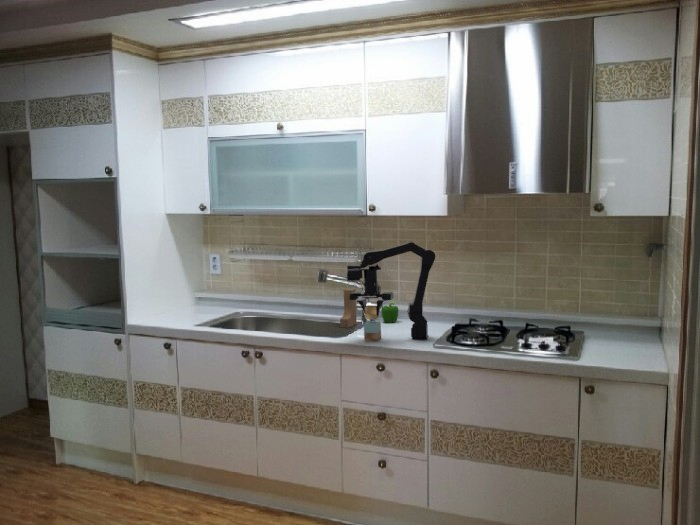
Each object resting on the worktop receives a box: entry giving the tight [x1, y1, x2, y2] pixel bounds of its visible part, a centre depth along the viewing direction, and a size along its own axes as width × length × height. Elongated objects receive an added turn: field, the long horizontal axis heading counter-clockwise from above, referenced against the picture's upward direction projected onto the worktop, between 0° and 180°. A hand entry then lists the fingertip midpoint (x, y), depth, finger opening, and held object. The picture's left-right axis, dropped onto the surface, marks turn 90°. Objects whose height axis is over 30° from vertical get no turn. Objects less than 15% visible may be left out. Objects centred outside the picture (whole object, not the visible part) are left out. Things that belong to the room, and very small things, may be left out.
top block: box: [363, 320, 382, 334], centre depth 272 cm, size 6×6×4 cm
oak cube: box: [364, 304, 380, 320], centre depth 272 cm, size 5×5×5 cm
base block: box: [363, 330, 382, 343], centre depth 273 cm, size 6×6×4 cm
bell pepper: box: [381, 302, 399, 324], centre depth 311 cm, size 8×8×10 cm
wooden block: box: [339, 288, 358, 329], centre depth 305 cm, size 9×4×18 cm, turn 150°
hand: (372, 315), depth 272 cm, fingers closed on oak cube, 5 cm apart
